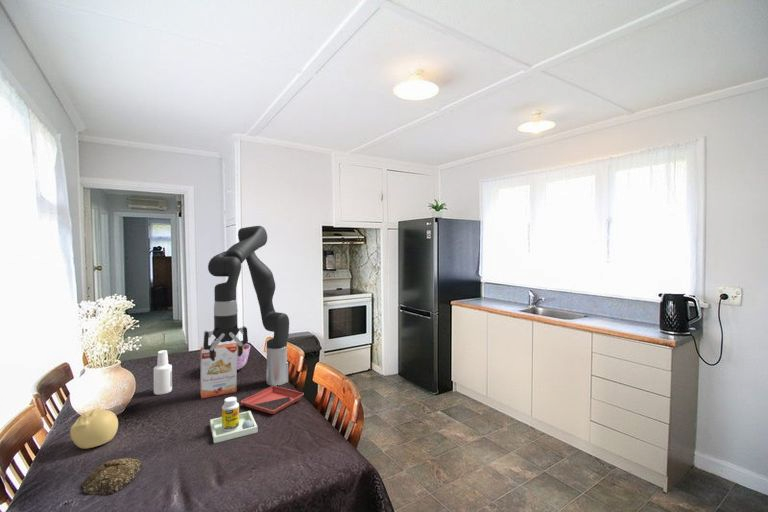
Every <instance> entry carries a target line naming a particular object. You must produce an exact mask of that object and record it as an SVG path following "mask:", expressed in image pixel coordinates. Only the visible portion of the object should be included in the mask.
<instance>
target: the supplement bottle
mask: <svg viewBox="0 0 768 512" xmlns="http://www.w3.org/2000/svg"><path fill="white" fill-rule="evenodd" d="M237 401H238V399H237V396H229V397H226V398H224V402H223V403H224V404H223V405H222V406H221V417H222V429H223V430H224V431H231V430H234V429H236V428H237V427H238V426H239V413H240V404H239V402H237Z"/></svg>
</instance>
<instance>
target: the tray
mask: <svg viewBox="0 0 768 512" xmlns="http://www.w3.org/2000/svg"><path fill="white" fill-rule="evenodd" d="M246 420H250V421H252V423H253V427H250V428H246V429H243V428H242V425H243V423H244V422H245V421H246ZM209 423H210V424H209V425H210V432H211V435H212V439H213V444H217V443H222V442H225V441H228V440H233V439H236V438H241V437H244V436H249V435H252V434H256V433H258V432H259V430H258V424H257V423H256V421H255V418H254V416H253V414H252V411H251V410H247V411H244V412H243V411H242V412H239V426H238V427H237V428H236V429H234V430H231V431H224V430H223V429H222V416H220V417H216V418H211V419H209Z"/></svg>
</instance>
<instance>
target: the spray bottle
mask: <svg viewBox="0 0 768 512" xmlns="http://www.w3.org/2000/svg"><path fill="white" fill-rule="evenodd" d="M168 355H169V354H168V350H165V349H164V350H162V349H161V350H159V351H157V362H156V365H155V366H154V367H153V394H154V395H156V396H157V395H159V396H160V395H165V394H168V393H171V392H172V391H173V365H172V364H169V356H168Z"/></svg>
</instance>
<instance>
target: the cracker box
mask: <svg viewBox="0 0 768 512" xmlns="http://www.w3.org/2000/svg"><path fill="white" fill-rule="evenodd" d="M230 343H231V344H229V343H223V345H222V344H218V345H217V346H216V347H215V348H214V350H215V361H212V359H210V350H205V349H204V347H203V346H200V398H201V399H207V398H211V397H216V396H217V397H218V396H223V395H228V394H234V393H237V385H238V384H237V380H238V379H237V374H238V373H237V372H238V371H237V346H236V344H235V343H236V342H230Z"/></svg>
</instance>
